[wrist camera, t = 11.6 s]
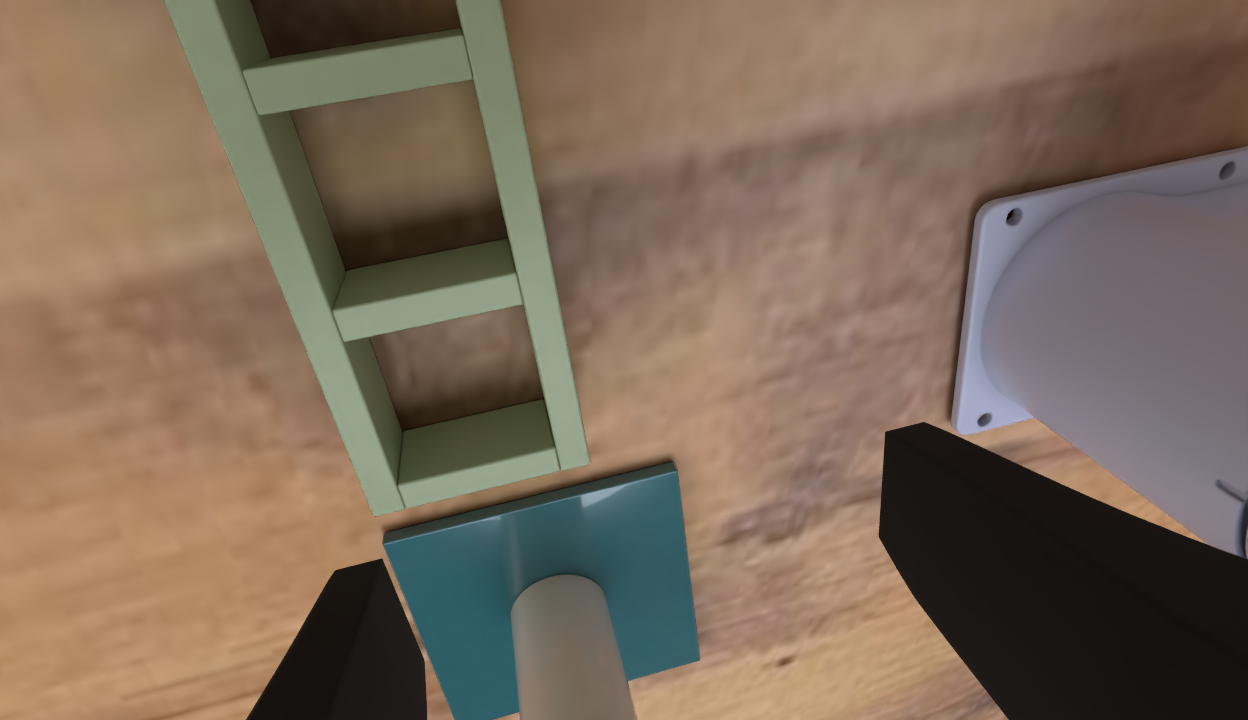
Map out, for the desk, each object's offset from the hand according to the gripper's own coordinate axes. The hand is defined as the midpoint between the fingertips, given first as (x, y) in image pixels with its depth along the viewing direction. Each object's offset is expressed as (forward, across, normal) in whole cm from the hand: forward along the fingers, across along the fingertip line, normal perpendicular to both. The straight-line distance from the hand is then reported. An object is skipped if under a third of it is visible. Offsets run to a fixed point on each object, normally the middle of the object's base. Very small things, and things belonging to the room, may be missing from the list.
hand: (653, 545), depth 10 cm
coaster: (+10, +2, +11) cm, 15 cm away
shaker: (+9, +2, +11) cm, 15 cm away
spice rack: (+10, +3, -4) cm, 11 cm away
